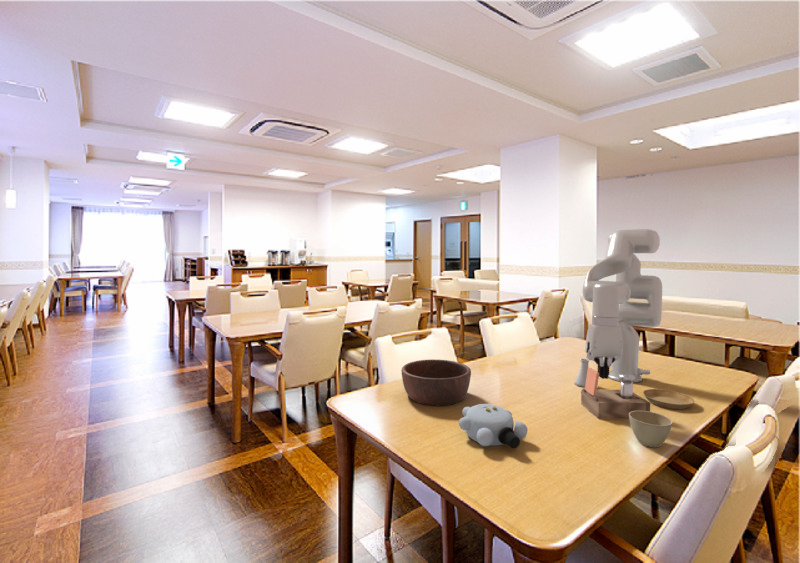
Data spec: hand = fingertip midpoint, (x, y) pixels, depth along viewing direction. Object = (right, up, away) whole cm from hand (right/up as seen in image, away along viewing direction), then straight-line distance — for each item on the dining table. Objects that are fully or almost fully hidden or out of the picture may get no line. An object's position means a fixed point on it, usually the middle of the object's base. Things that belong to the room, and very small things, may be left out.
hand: (603, 377), depth 129 cm
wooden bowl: (-53, -11, +15) cm, 56 cm away
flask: (+6, -10, +27) cm, 29 cm away
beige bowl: (+2, -13, -21) cm, 25 cm away
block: (+4, -11, +1) cm, 12 cm away
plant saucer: (+26, -11, +8) cm, 29 cm away
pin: (+8, -11, +1) cm, 13 cm away
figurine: (-40, -13, -18) cm, 46 cm away
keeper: (-4, -1, 0) cm, 4 cm away
